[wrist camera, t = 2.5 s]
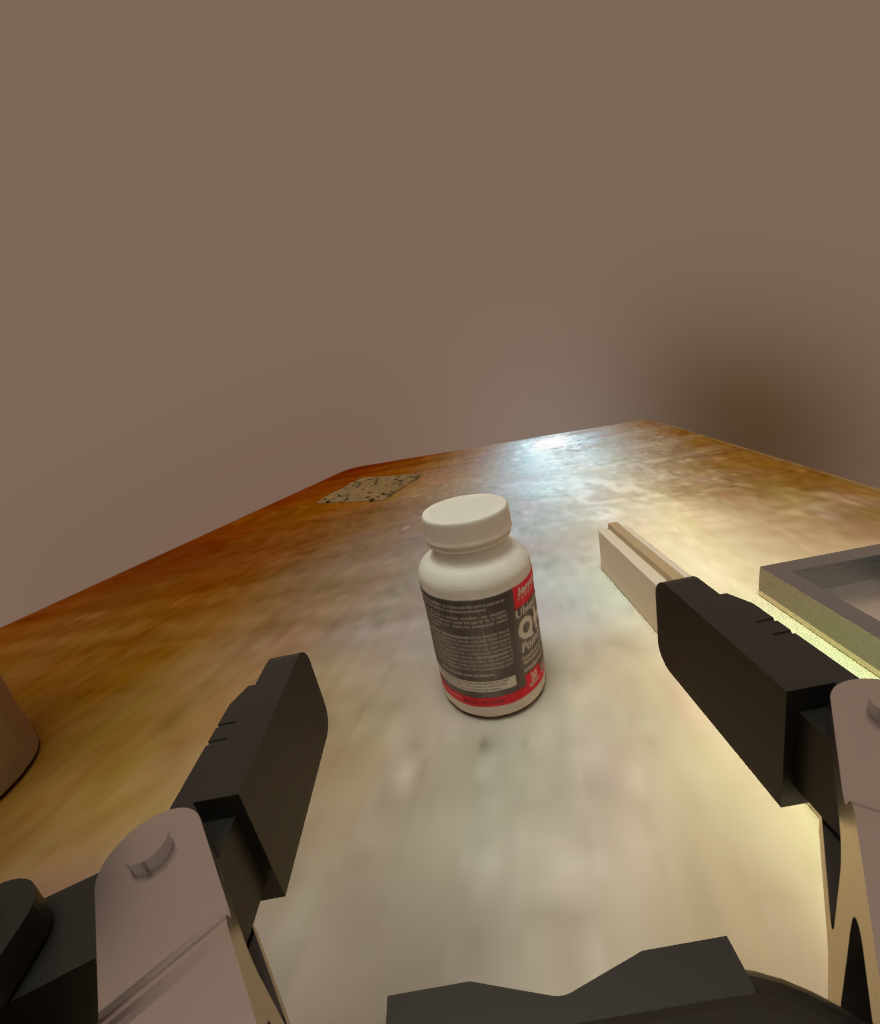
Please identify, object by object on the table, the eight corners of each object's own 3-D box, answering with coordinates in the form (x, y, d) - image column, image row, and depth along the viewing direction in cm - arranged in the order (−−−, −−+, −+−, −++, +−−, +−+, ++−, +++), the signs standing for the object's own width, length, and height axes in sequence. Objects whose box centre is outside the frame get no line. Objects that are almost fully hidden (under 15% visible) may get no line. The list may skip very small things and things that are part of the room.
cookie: (425, 476, 69) (424, 470, 69) (384, 504, 59) (382, 497, 59) (364, 480, 75) (362, 474, 75) (316, 506, 65) (314, 500, 65)
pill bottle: (559, 712, 21) (533, 516, 17) (445, 729, 21) (399, 540, 18) (535, 641, 26) (512, 480, 23) (443, 656, 26) (408, 499, 23)
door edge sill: (935, 859, 13) (957, 772, 12) (866, 871, 13) (881, 785, 12) (629, 563, 32) (626, 519, 31) (601, 569, 32) (598, 525, 31)
